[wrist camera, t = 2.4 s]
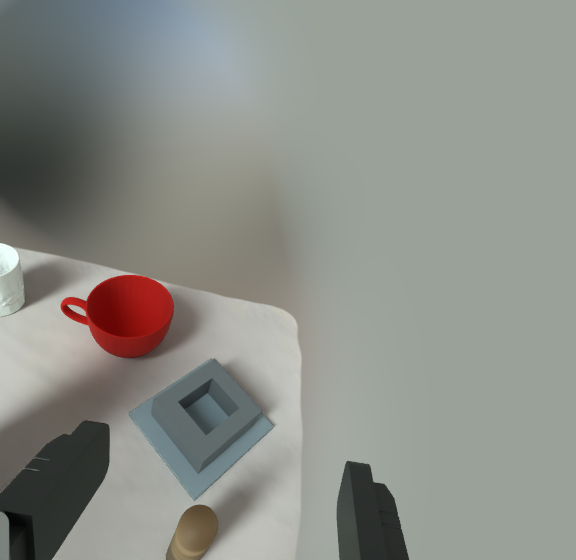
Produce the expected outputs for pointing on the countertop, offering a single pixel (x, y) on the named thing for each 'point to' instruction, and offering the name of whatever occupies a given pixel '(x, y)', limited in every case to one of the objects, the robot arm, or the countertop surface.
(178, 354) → the countertop surface
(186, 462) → the socket block
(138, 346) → the ceramic cup
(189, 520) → the wooden cylinder
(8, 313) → the white cup
